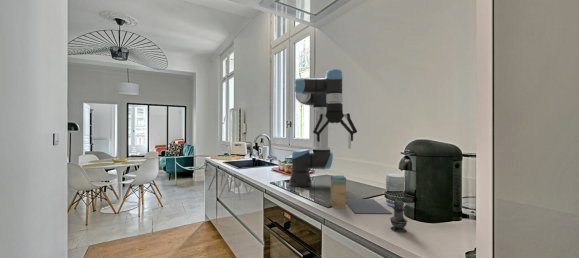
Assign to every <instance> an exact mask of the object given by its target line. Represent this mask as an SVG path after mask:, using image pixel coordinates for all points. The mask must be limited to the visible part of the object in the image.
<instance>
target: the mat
mask: <svg viewBox="0 0 579 258" xmlns="http://www.w3.org/2000/svg"><path fill="white" fill-rule="evenodd" d="M346 205H347V206H348V207H349V209H350V210H351V211H352V212H353V213H354V214H357V215H392V214H393V213H392V212H391V211H389V210H388V209H387V208H386V207H384V206H383V205H382V204H381V203H379V202H378V201H377V200H375V199H374V198H346Z"/></svg>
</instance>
